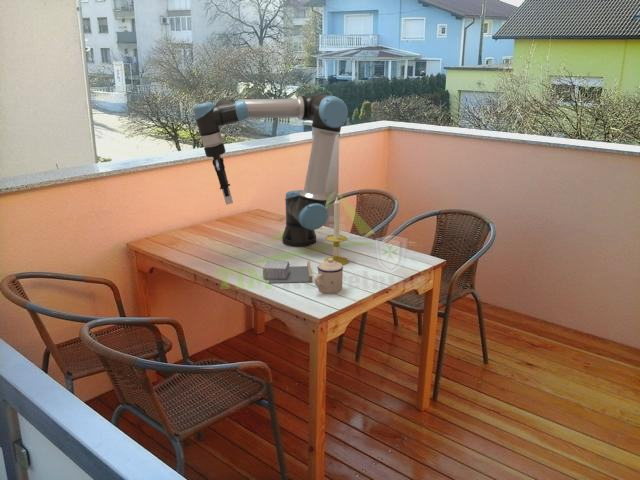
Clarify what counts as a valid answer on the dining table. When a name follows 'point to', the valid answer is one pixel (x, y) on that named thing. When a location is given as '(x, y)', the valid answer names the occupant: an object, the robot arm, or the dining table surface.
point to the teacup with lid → (329, 277)
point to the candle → (337, 237)
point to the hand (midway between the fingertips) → (229, 203)
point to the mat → (296, 275)
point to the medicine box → (276, 270)
